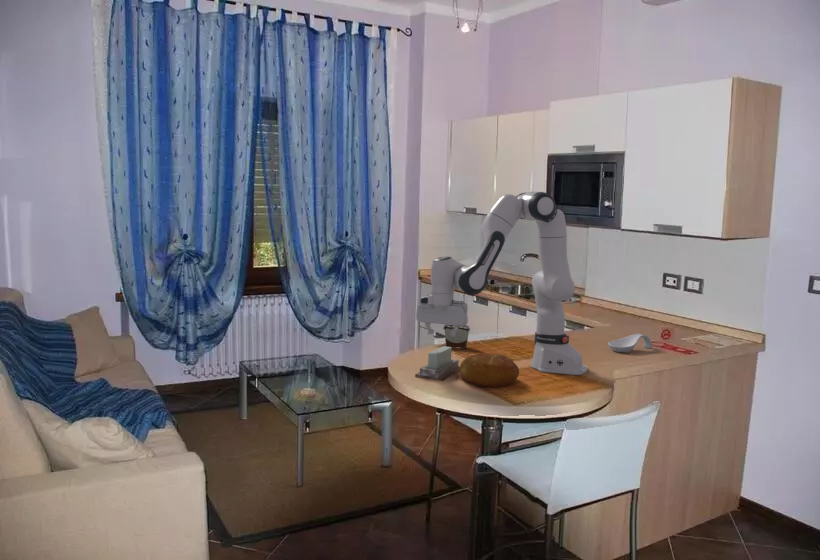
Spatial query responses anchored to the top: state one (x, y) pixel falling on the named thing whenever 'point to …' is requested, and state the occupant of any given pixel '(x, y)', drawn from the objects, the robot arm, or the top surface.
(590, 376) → the top surface
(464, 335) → the food container
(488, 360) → the bread
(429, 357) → the pale green rectangular block
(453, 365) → the grey rectangular tray
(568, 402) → the top surface
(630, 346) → the spoon rest
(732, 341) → the top surface
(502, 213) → the robot arm
